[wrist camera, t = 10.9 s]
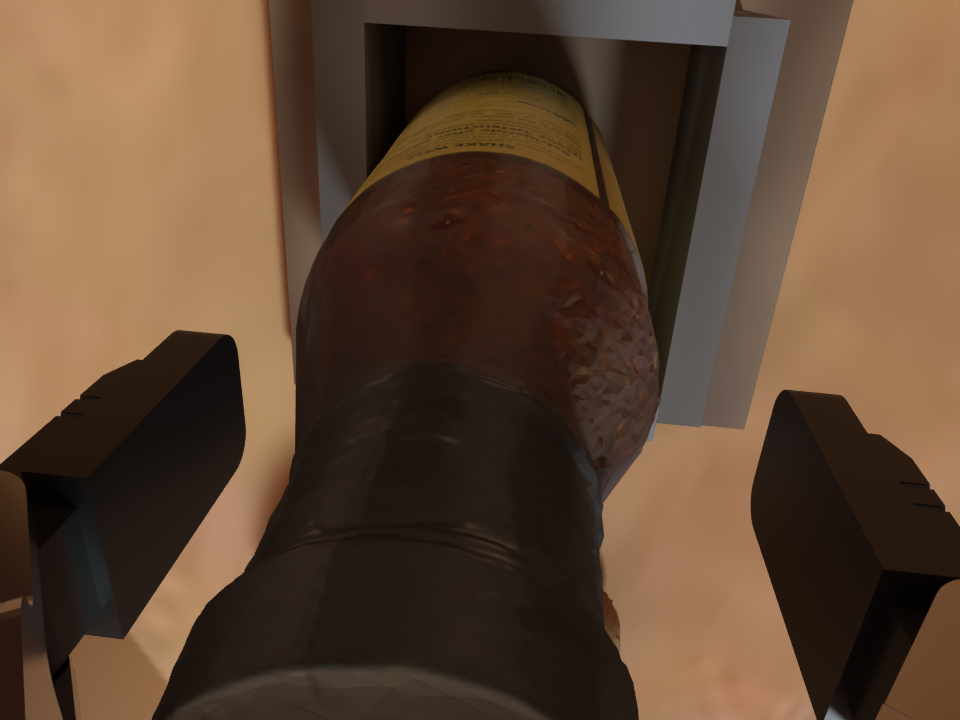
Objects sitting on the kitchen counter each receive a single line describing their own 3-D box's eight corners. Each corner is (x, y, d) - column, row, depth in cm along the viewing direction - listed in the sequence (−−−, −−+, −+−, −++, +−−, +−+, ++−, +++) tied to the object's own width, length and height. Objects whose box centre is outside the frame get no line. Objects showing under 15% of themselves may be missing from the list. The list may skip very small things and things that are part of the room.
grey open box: (861, -105, 20) (976, -137, 14) (735, 407, 28) (779, 522, 22) (277, -136, 21) (170, -176, 16) (307, 365, 29) (241, 463, 23)
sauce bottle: (365, 160, 23) (-248, 736, 6) (519, 14, 21) (266, 241, 4) (504, 311, 25) (353, 1093, 8) (659, 192, 23) (953, 926, 5)
